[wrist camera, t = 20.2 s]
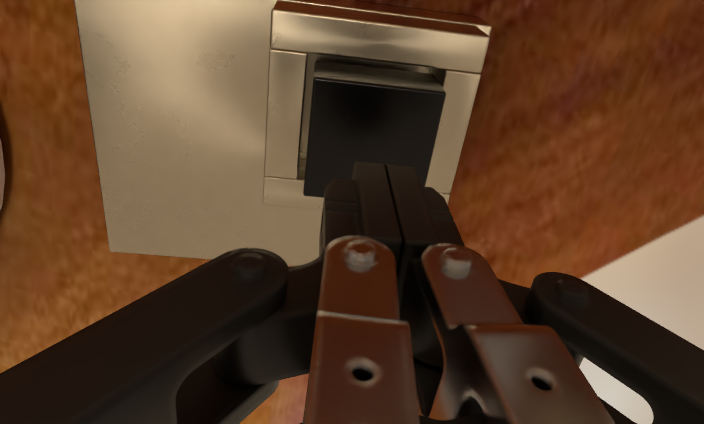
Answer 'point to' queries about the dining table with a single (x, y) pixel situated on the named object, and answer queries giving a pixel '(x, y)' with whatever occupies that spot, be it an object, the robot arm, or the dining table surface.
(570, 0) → the dining table surface
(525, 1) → the dining table surface
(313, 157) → the key
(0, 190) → the planter
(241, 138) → the keypad
